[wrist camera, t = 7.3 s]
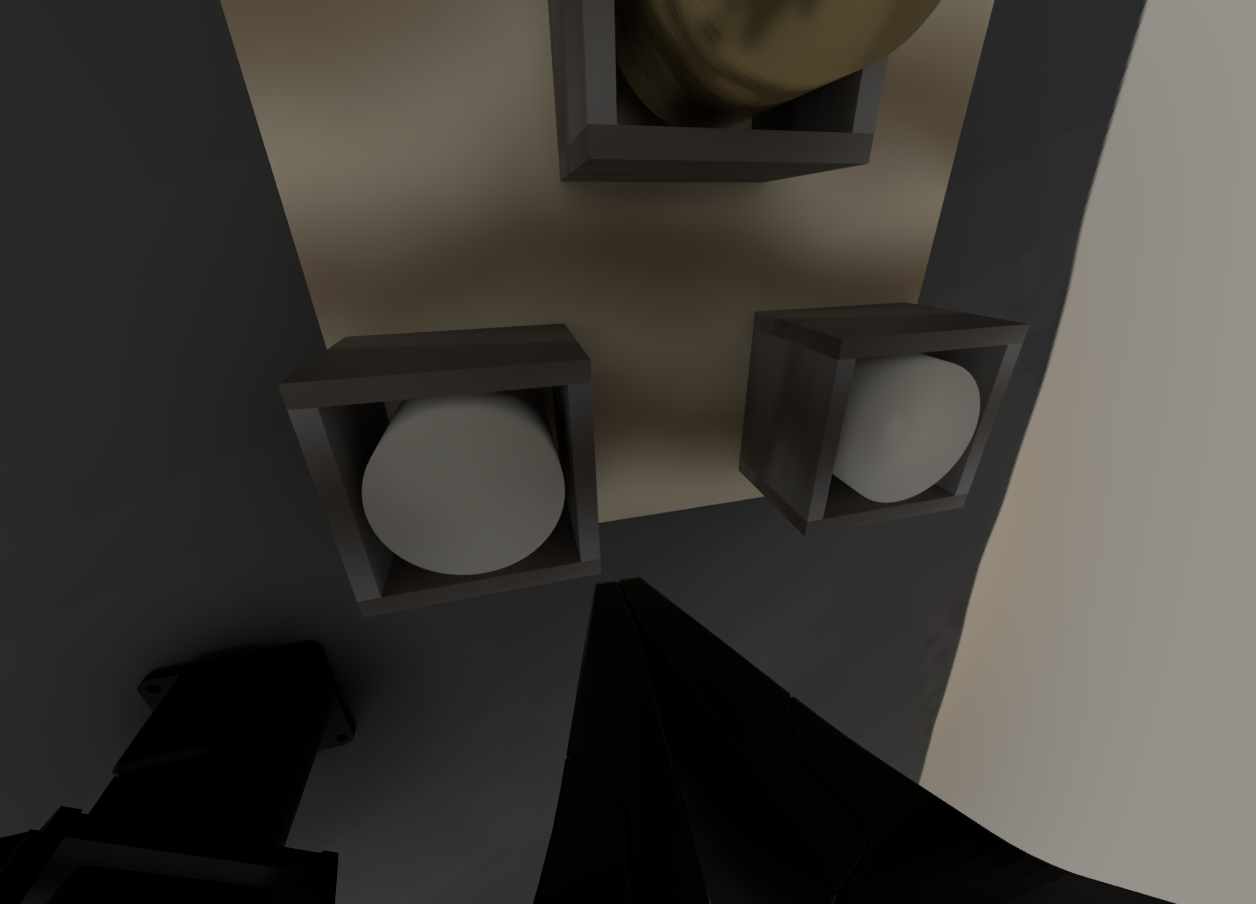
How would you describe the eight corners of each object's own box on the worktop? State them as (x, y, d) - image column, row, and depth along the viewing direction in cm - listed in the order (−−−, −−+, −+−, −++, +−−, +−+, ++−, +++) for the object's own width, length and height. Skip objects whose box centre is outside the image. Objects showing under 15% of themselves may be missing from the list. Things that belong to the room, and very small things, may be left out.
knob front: (552, 478, 18) (571, 558, 14) (417, 496, 17) (389, 589, 13) (540, 351, 16) (557, 398, 11) (383, 363, 15) (335, 420, 10)
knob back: (858, 437, 21) (953, 491, 17) (760, 450, 20) (834, 512, 16) (883, 326, 19) (1000, 355, 14) (775, 334, 18) (865, 368, 13)
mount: (851, 465, 24) (962, 538, 18) (397, 533, 19) (355, 662, 13) (974, -73, 15) (1262, -255, 9) (185, -198, 10) (-199, -727, 5)
